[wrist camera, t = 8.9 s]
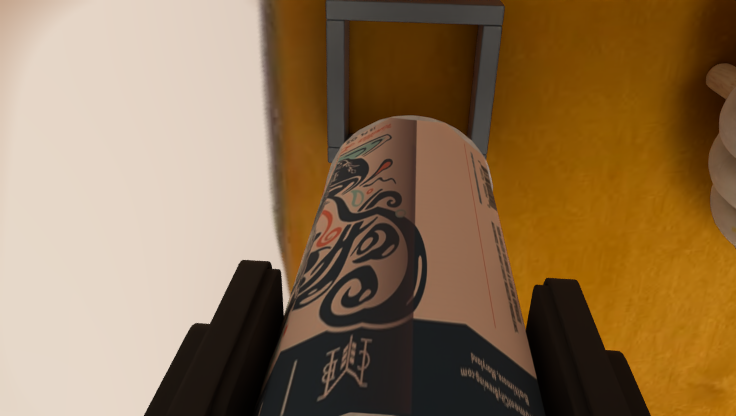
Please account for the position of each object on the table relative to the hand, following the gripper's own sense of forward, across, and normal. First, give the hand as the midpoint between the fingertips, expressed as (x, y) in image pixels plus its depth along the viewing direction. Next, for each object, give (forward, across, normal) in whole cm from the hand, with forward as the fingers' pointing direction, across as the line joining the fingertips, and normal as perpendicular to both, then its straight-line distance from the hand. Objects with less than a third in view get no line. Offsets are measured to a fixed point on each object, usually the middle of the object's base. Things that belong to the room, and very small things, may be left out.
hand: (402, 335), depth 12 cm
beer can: (+7, 0, 0) cm, 7 cm away
